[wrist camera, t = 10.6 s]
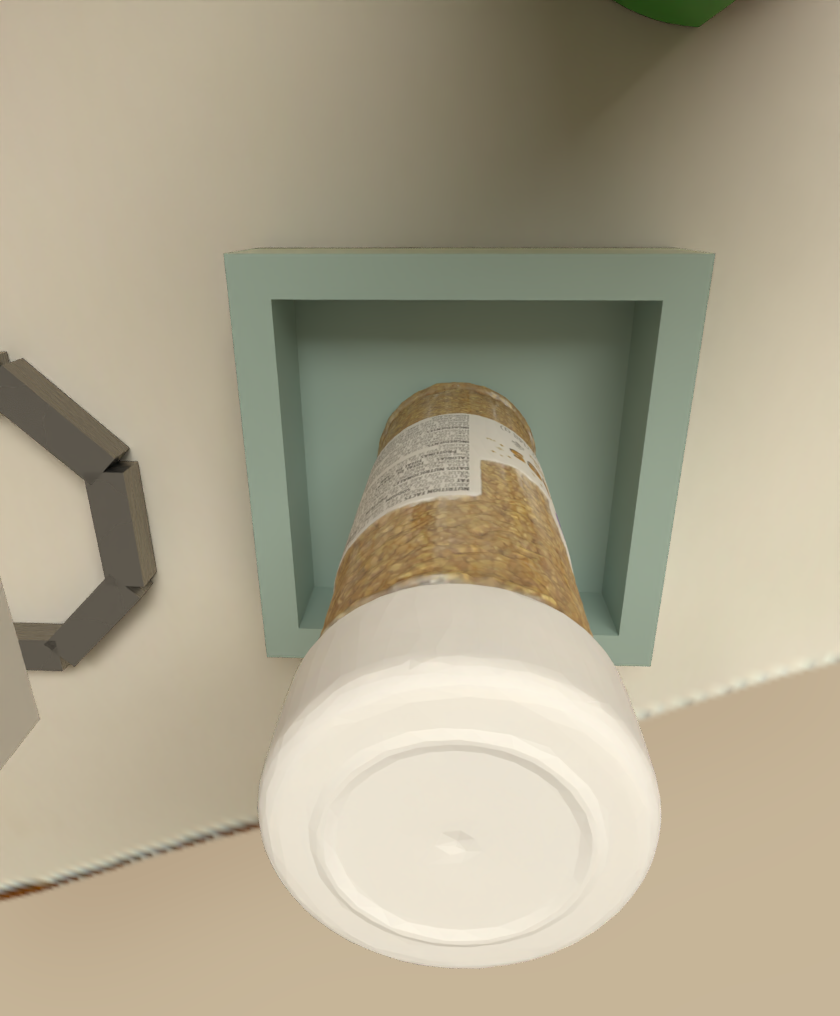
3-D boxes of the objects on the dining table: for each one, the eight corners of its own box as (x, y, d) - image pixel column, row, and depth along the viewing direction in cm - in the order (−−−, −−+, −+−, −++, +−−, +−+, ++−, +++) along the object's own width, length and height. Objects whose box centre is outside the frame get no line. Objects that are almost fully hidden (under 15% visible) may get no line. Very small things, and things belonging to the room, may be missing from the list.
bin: (289, 603, 23) (266, 657, 20) (258, 247, 18) (223, 254, 16) (626, 610, 22) (650, 666, 19) (675, 247, 18) (715, 253, 15)
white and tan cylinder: (554, 497, 20) (715, 944, 8) (411, 546, 21) (349, 1019, 9) (504, 350, 19) (605, 619, 6) (350, 409, 19) (168, 749, 7)
